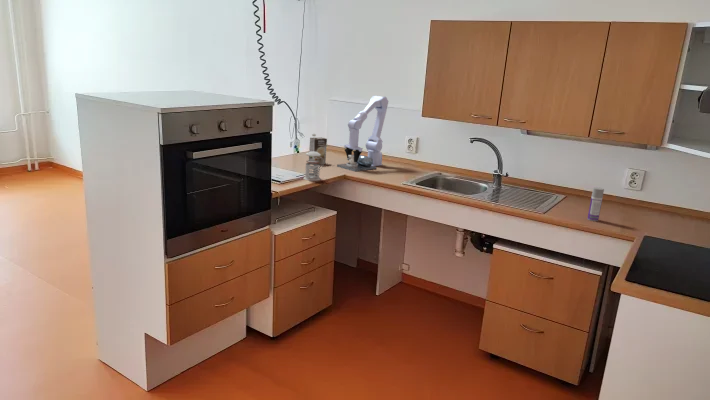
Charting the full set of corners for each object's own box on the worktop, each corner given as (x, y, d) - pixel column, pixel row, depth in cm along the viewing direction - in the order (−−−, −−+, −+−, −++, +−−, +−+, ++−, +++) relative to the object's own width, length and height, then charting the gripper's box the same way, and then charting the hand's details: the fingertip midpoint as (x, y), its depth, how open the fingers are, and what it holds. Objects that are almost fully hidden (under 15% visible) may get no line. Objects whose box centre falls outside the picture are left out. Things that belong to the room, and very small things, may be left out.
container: (589, 217, 246) (594, 186, 242) (599, 219, 243) (605, 188, 239) (586, 219, 242) (591, 188, 238) (596, 221, 239) (602, 190, 235)
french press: (299, 177, 290) (301, 132, 283) (317, 175, 297) (319, 132, 290) (309, 181, 282) (311, 135, 276) (327, 179, 289) (329, 134, 283)
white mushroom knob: (352, 163, 329) (353, 154, 327) (358, 164, 325) (359, 155, 323) (344, 164, 324) (344, 155, 323) (350, 165, 320) (350, 156, 319)
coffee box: (314, 164, 328) (315, 139, 324) (308, 162, 332) (309, 137, 328) (325, 163, 333) (327, 138, 329) (320, 161, 338) (321, 137, 334)
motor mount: (357, 164, 339) (358, 153, 337) (376, 168, 327) (377, 157, 325) (336, 166, 327) (337, 155, 325) (355, 171, 315) (356, 159, 313)
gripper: (341, 138, 323) (339, 159, 327) (357, 141, 313) (355, 163, 317) (349, 137, 328) (348, 158, 332) (365, 140, 318) (364, 162, 321)
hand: (352, 161), depth 325 cm, fingers open, 6 cm apart
